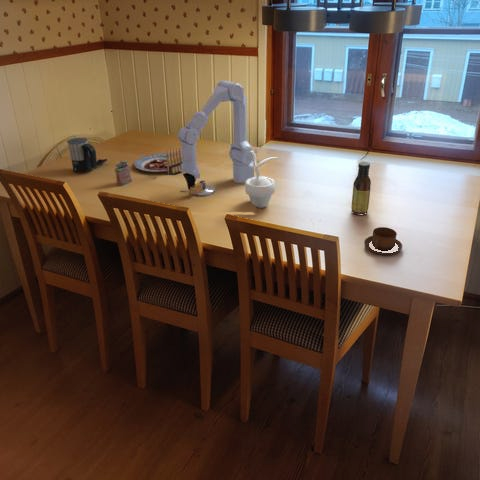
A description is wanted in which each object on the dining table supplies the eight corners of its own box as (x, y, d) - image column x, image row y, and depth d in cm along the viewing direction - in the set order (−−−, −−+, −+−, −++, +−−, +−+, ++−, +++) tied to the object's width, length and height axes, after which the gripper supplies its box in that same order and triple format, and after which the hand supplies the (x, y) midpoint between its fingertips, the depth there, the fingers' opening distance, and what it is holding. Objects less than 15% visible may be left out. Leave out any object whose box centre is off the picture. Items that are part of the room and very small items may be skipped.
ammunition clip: (169, 177, 219) (167, 151, 213) (167, 176, 220) (164, 150, 214) (187, 171, 226) (185, 146, 220) (184, 170, 227) (183, 145, 221)
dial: (201, 185, 206) (200, 175, 204) (219, 190, 201) (219, 180, 199) (182, 194, 198) (182, 184, 196) (201, 199, 192) (201, 189, 190)
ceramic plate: (180, 176, 220) (179, 170, 218) (126, 174, 224) (126, 168, 222) (193, 158, 242) (193, 153, 241) (145, 156, 246) (144, 151, 245)
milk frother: (68, 173, 225) (63, 142, 218) (84, 162, 239) (79, 133, 232) (97, 174, 223) (92, 143, 216) (111, 163, 236) (106, 134, 230)
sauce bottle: (355, 208, 186) (361, 158, 177) (370, 212, 182) (376, 162, 173) (347, 213, 182) (352, 163, 172) (362, 218, 178) (368, 167, 169)
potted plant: (243, 210, 185) (242, 147, 174) (247, 198, 196) (246, 138, 184) (276, 211, 184) (277, 148, 172) (278, 200, 194) (279, 139, 182)
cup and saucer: (399, 260, 151) (402, 243, 148) (361, 254, 155) (363, 237, 152) (403, 243, 160) (405, 227, 158) (366, 237, 164) (368, 221, 161)
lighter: (127, 179, 216) (125, 158, 212) (133, 181, 215) (130, 159, 210) (115, 185, 210) (112, 163, 206) (120, 186, 209) (117, 165, 204)
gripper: (173, 154, 194) (175, 185, 200) (187, 164, 183) (189, 197, 189) (189, 151, 197) (191, 182, 203) (204, 161, 186) (205, 194, 192)
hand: (191, 189), depth 197 cm, fingers closed, pressing on dial
